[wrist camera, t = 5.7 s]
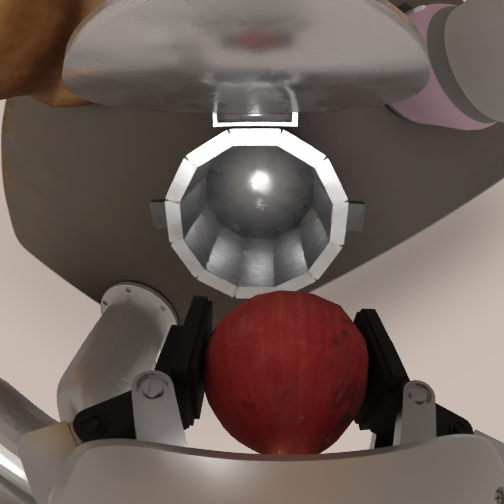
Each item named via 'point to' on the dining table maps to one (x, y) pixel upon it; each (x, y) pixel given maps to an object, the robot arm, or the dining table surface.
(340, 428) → the red pomegranate
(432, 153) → the dining table surface
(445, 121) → the blender
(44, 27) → the butternut squash
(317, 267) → the pot
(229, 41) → the lid
